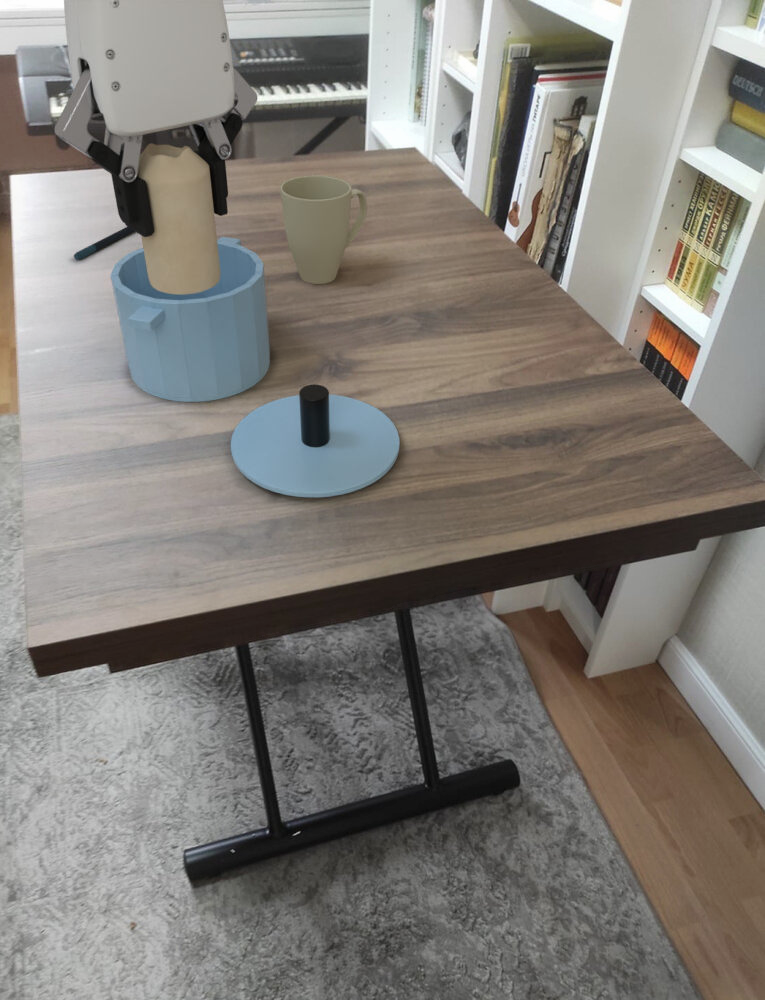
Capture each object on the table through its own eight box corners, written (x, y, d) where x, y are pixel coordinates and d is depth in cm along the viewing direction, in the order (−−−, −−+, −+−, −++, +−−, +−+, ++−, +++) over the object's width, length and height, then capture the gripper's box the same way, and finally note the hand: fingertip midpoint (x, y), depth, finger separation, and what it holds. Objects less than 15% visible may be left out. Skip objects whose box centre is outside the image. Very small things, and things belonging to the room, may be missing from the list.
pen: (152, 224, 126) (151, 216, 125) (79, 261, 115) (77, 253, 114) (147, 222, 126) (146, 215, 125) (73, 260, 115) (71, 252, 115)
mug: (349, 295, 109) (349, 204, 101) (276, 286, 110) (271, 196, 103) (367, 261, 117) (368, 174, 109) (299, 253, 119) (295, 167, 111)
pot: (89, 400, 89) (65, 300, 81) (181, 312, 104) (168, 222, 97) (224, 427, 85) (212, 326, 78) (298, 332, 101) (294, 241, 94)
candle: (228, 267, 67) (215, 137, 61) (210, 298, 63) (194, 161, 56) (162, 262, 67) (142, 132, 61) (139, 292, 63) (115, 156, 57)
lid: (202, 481, 79) (193, 423, 74) (270, 391, 91) (266, 336, 87) (370, 518, 75) (371, 459, 71) (417, 419, 87) (421, 363, 83)
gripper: (221, -87, 57) (243, 181, 69) (-30, -72, 48) (44, 233, 60) (288, -75, 53) (299, 208, 64) (27, -57, 44) (95, 268, 55)
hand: (176, 217), depth 62 cm, fingers closed on candle, 5 cm apart
